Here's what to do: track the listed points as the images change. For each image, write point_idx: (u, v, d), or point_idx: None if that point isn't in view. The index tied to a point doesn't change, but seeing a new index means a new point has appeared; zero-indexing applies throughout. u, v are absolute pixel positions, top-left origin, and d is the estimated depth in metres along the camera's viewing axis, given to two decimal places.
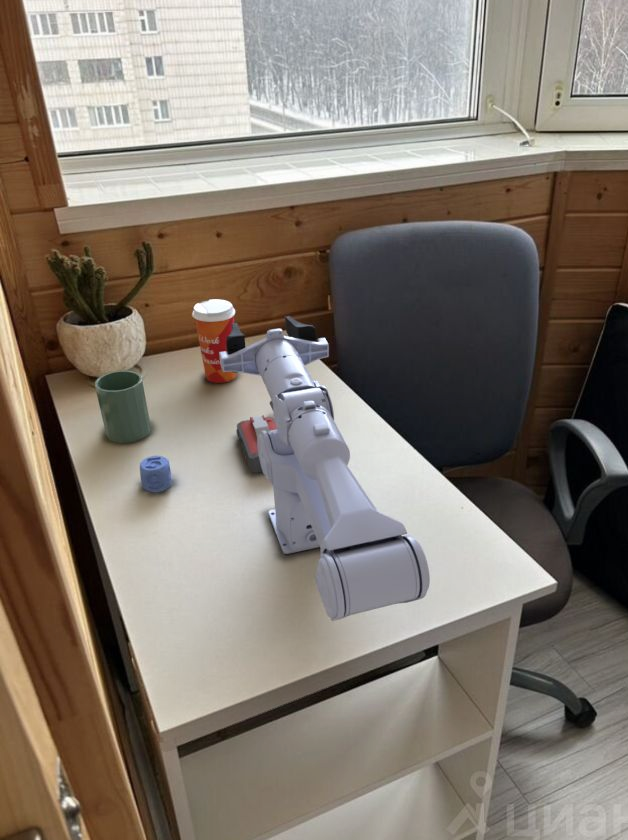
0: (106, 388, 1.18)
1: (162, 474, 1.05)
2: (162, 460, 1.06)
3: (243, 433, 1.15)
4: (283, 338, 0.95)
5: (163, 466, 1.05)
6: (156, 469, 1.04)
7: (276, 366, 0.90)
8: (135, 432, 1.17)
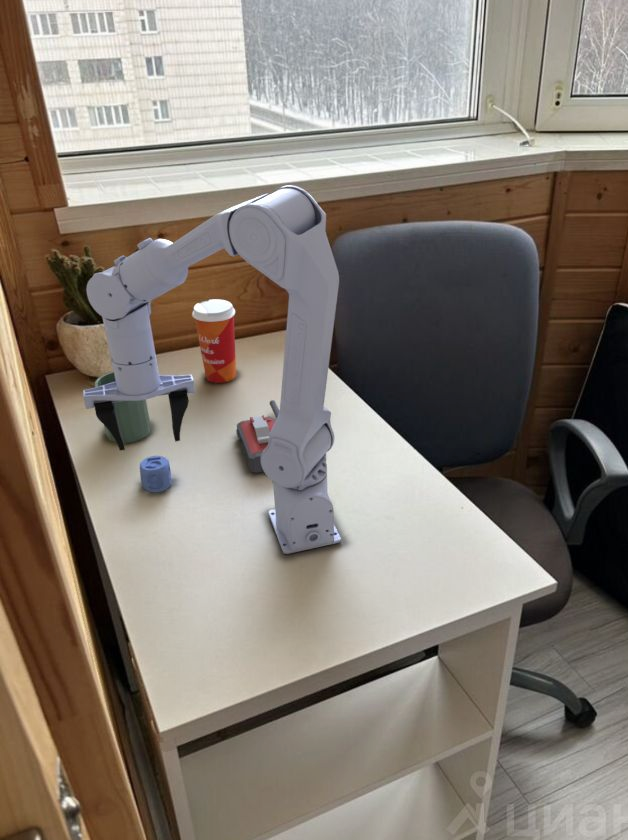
0: None
1: (162, 474, 1.05)
2: (162, 460, 1.06)
3: (243, 433, 1.15)
4: None
5: (163, 466, 1.05)
6: (156, 469, 1.04)
7: None
8: (135, 432, 1.17)
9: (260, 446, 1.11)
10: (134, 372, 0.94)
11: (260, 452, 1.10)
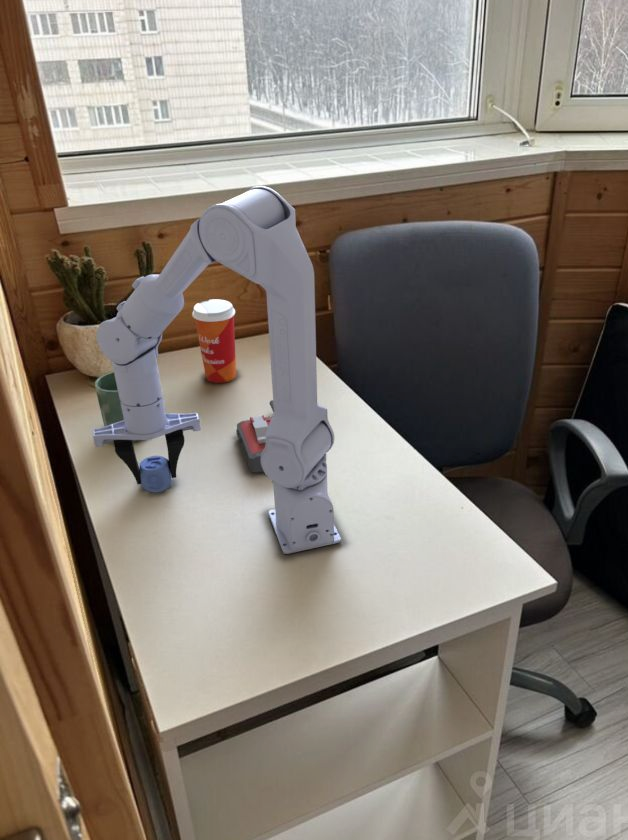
0: (106, 388, 1.18)
1: (162, 474, 1.05)
2: (162, 460, 1.06)
3: (243, 433, 1.15)
4: None
5: (163, 466, 1.05)
6: (156, 469, 1.04)
7: None
8: None
9: (260, 446, 1.11)
10: (142, 413, 0.98)
11: (260, 452, 1.10)
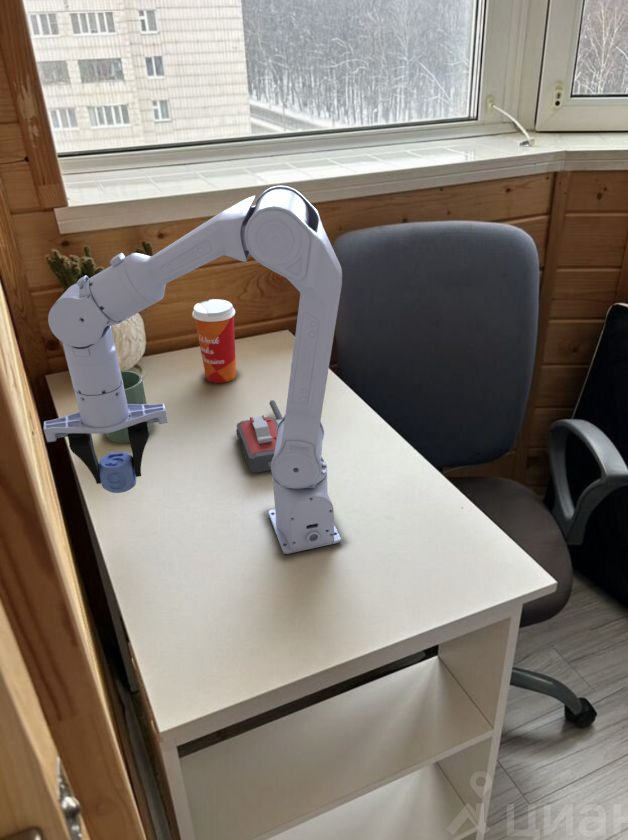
0: None
1: (124, 472, 0.93)
2: (125, 457, 0.94)
3: (243, 433, 1.15)
4: None
5: (126, 464, 0.93)
6: (117, 467, 0.93)
7: (71, 377, 0.86)
8: None
9: (260, 446, 1.11)
10: (98, 403, 0.86)
11: (260, 452, 1.10)
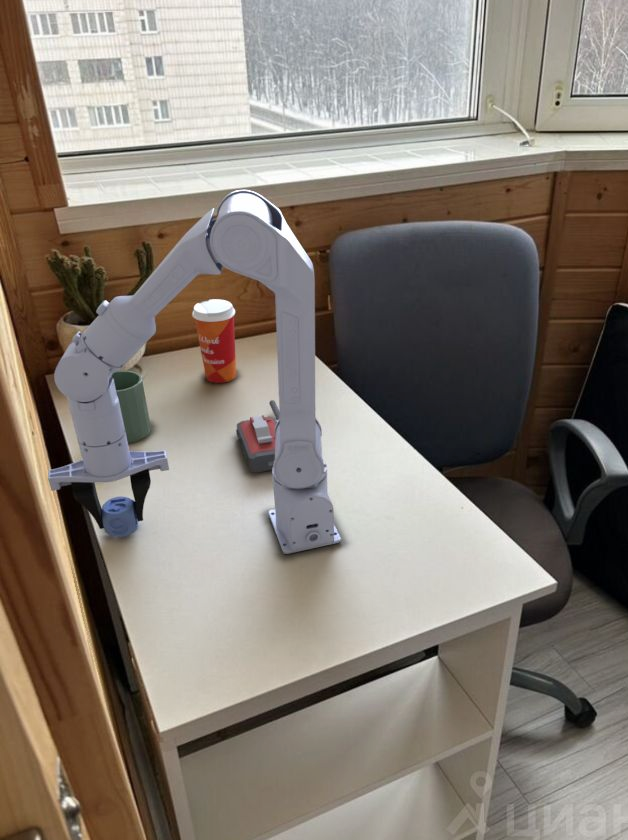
0: None
1: (126, 518, 0.95)
2: (127, 502, 0.96)
3: (243, 433, 1.15)
4: None
5: (128, 509, 0.95)
6: (120, 513, 0.95)
7: (75, 430, 0.87)
8: (135, 432, 1.17)
9: (260, 446, 1.11)
10: (101, 454, 0.88)
11: (260, 452, 1.10)
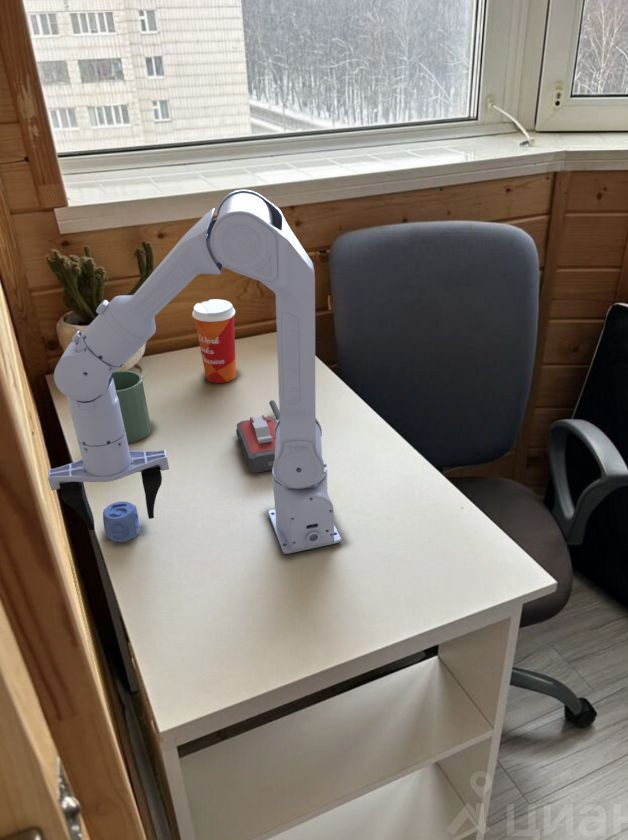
0: None
1: (127, 523, 0.95)
2: (128, 507, 0.97)
3: (243, 433, 1.15)
4: None
5: (129, 514, 0.96)
6: (121, 518, 0.95)
7: (75, 429, 0.87)
8: (135, 432, 1.17)
9: (260, 446, 1.11)
10: (101, 453, 0.88)
11: (260, 452, 1.10)
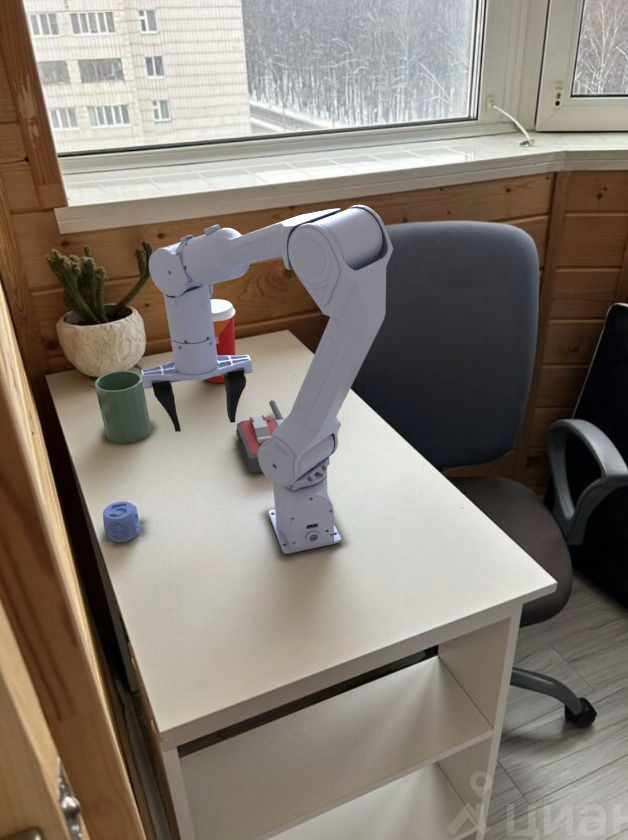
0: (106, 388, 1.18)
1: (127, 523, 0.95)
2: (128, 507, 0.97)
3: (243, 433, 1.15)
4: None
5: (129, 514, 0.96)
6: (121, 518, 0.95)
7: None
8: (135, 432, 1.17)
9: None
10: (194, 351, 0.93)
11: None
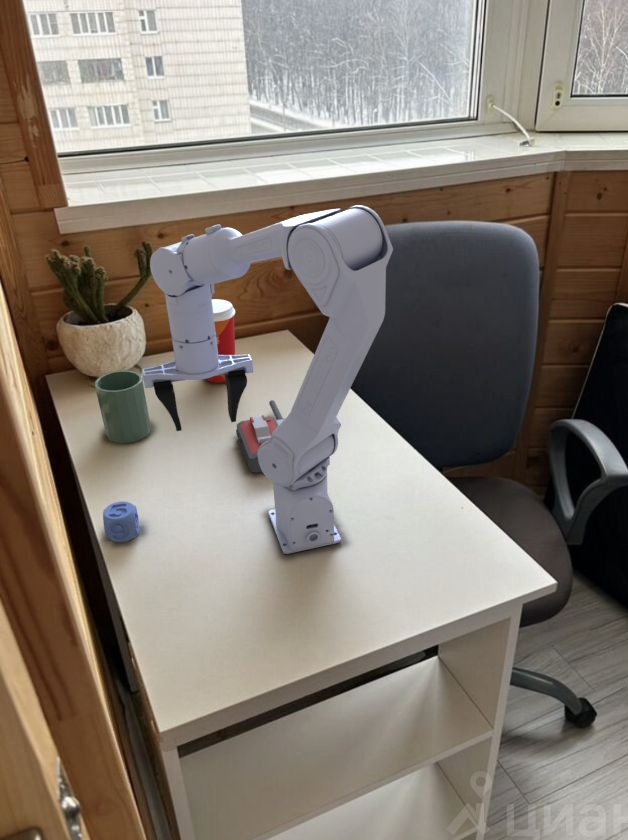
0: (106, 388, 1.18)
1: (127, 523, 0.95)
2: (128, 507, 0.97)
3: (243, 433, 1.15)
4: None
5: (129, 514, 0.96)
6: (121, 518, 0.95)
7: None
8: (135, 432, 1.17)
9: None
10: (195, 350, 0.93)
11: None
